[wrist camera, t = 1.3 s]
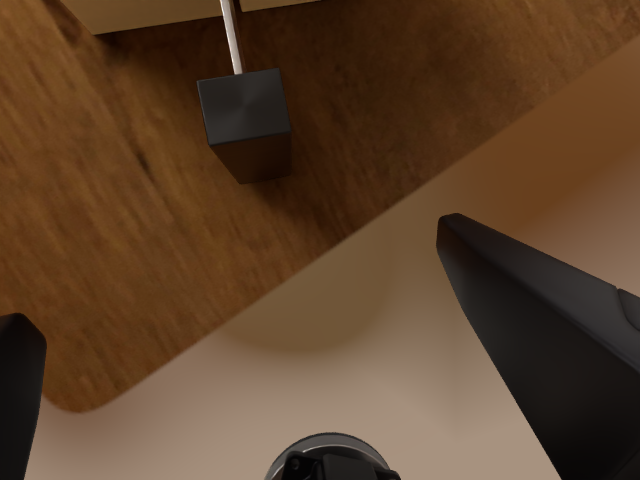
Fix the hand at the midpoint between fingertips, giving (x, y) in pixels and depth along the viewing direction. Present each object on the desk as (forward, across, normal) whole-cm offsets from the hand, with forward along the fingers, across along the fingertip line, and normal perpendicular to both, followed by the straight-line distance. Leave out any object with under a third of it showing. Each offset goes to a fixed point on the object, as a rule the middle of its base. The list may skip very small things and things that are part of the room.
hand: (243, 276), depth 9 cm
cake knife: (+17, -1, +2) cm, 17 cm away
